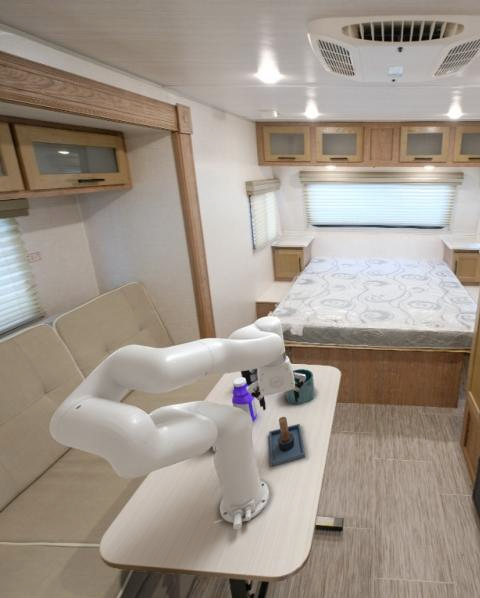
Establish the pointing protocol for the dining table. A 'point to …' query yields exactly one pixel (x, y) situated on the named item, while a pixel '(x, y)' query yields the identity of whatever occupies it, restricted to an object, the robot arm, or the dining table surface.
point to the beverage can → (250, 377)
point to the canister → (302, 388)
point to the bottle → (243, 397)
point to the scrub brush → (285, 436)
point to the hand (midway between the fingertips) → (280, 403)
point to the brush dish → (291, 454)
